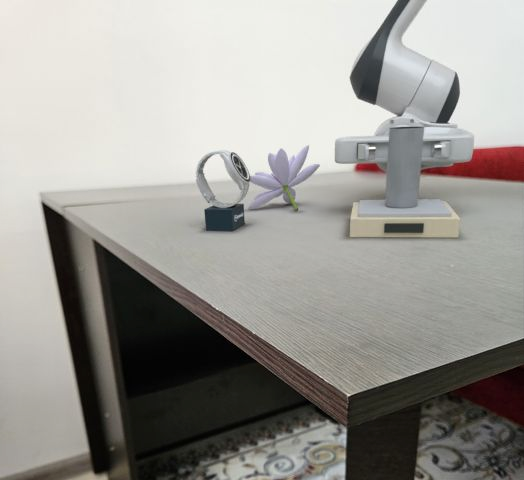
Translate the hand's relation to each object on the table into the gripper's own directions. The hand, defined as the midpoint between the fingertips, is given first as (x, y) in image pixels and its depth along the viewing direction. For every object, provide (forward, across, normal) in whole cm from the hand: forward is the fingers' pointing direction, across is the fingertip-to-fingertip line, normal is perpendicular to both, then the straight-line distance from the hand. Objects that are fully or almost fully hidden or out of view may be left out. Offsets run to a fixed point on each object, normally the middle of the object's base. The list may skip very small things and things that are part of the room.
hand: (404, 152), depth 73 cm
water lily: (-16, -20, +10) cm, 28 cm away
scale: (+2, 0, +10) cm, 10 cm away
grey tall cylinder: (+2, 0, +7) cm, 7 cm away
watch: (+2, -26, +10) cm, 28 cm away
